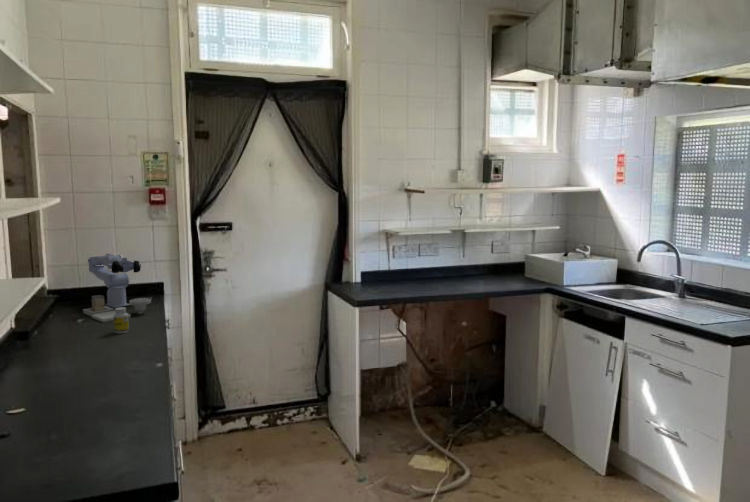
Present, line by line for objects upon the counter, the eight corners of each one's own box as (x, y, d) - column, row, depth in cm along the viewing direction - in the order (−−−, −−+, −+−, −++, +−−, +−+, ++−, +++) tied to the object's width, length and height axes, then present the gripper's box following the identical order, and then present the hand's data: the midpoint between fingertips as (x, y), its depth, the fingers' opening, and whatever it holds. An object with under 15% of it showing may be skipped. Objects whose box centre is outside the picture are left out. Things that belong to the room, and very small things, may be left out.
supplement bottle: (111, 332, 229) (110, 309, 228) (122, 329, 234) (120, 306, 233) (121, 334, 227) (120, 310, 226) (132, 330, 232) (130, 307, 231)
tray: (92, 318, 253) (91, 314, 253) (118, 313, 262) (118, 310, 262) (103, 322, 245) (103, 319, 245) (130, 317, 254) (130, 314, 254)
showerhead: (152, 299, 259) (129, 301, 254) (153, 314, 260) (130, 316, 255) (151, 295, 267) (128, 297, 263) (152, 310, 268) (129, 312, 264)
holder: (83, 313, 262) (83, 309, 262) (105, 309, 269) (105, 305, 269) (92, 316, 255) (91, 312, 255) (114, 312, 263) (114, 309, 262)
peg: (92, 313, 262) (91, 296, 261) (101, 311, 265) (100, 294, 264) (96, 314, 260) (95, 297, 259) (105, 313, 262) (104, 296, 261)
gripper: (105, 256, 265) (115, 260, 256) (136, 256, 275) (147, 260, 266) (104, 271, 266) (114, 276, 256) (135, 270, 276) (146, 275, 266)
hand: (131, 269), depth 261 cm, fingers open, 7 cm apart
